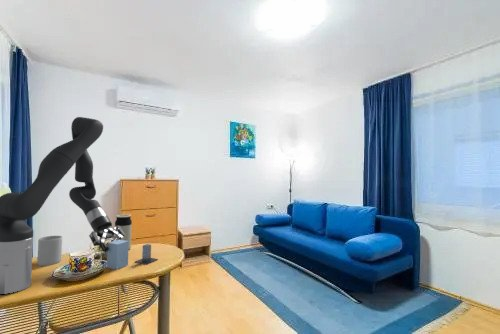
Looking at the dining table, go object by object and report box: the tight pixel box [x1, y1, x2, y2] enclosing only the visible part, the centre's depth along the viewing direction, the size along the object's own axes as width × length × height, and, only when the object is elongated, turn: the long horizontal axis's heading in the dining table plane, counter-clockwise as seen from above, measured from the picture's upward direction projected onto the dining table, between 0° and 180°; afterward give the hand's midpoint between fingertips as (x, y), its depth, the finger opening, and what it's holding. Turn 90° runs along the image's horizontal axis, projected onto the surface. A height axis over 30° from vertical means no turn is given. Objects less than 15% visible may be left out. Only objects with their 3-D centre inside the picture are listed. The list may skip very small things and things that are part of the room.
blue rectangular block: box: [106, 240, 129, 270], centre depth 109 cm, size 6×6×11 cm
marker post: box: [134, 243, 159, 266], centre depth 116 cm, size 7×7×7 cm
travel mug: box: [114, 213, 133, 251], centre depth 133 cm, size 8×8×18 cm
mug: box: [36, 235, 63, 267], centre depth 113 cm, size 12×8×11 cm
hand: (115, 248), depth 110 cm, fingers open, 8 cm apart
